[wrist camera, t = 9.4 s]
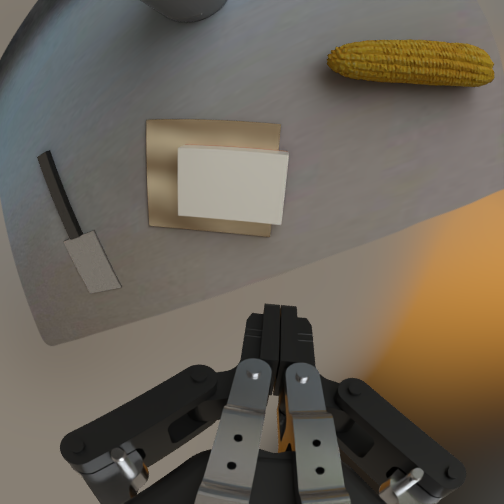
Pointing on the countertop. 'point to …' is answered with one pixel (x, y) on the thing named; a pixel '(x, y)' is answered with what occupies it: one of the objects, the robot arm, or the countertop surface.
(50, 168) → the knife with black handle
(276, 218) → the sponge
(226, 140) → the board
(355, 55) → the food
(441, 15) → the countertop surface
